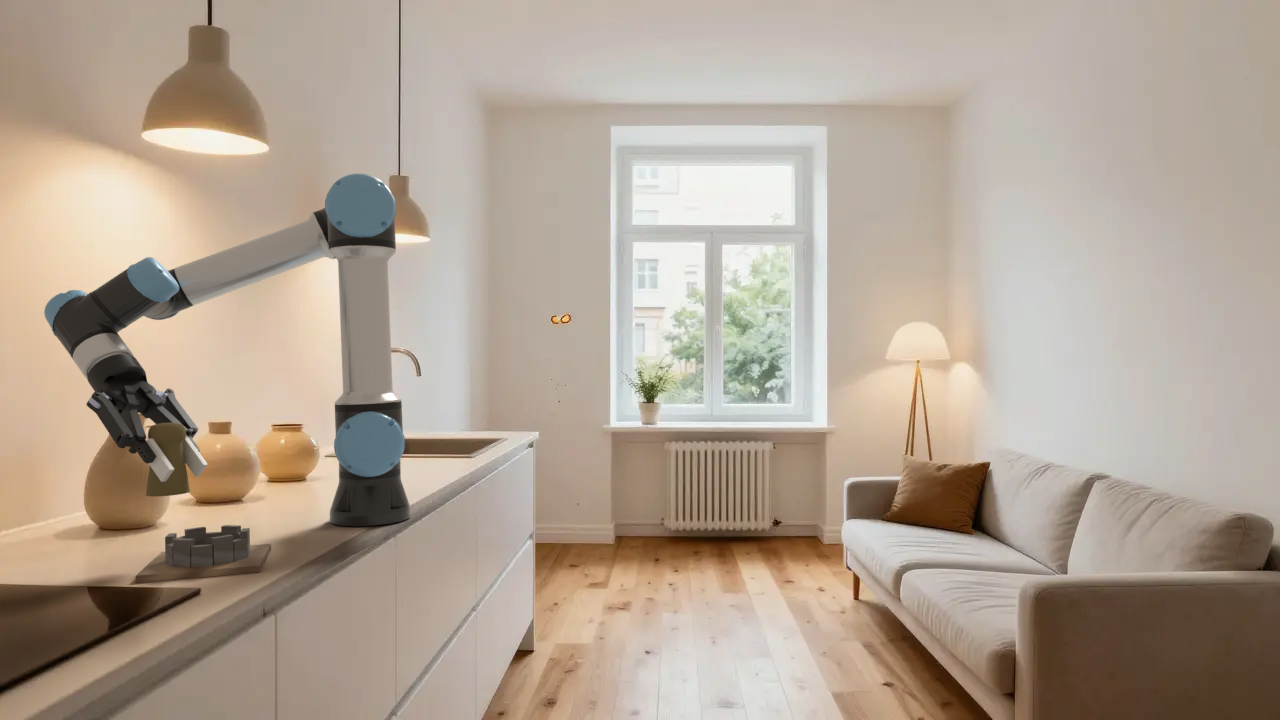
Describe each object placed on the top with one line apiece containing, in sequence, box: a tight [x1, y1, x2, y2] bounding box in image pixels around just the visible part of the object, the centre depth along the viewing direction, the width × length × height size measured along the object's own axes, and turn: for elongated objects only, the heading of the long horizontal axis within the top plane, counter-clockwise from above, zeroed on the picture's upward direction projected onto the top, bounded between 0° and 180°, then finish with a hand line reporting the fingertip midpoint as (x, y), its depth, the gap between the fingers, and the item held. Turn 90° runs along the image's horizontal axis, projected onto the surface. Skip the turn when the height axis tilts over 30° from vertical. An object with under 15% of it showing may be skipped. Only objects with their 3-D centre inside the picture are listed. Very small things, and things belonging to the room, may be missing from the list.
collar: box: [135, 524, 272, 584], centre depth 126 cm, size 16×16×5 cm
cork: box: [145, 423, 191, 497], centre depth 128 cm, size 6×6×11 cm
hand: (185, 472), depth 126 cm, fingers closed on cork, 5 cm apart
